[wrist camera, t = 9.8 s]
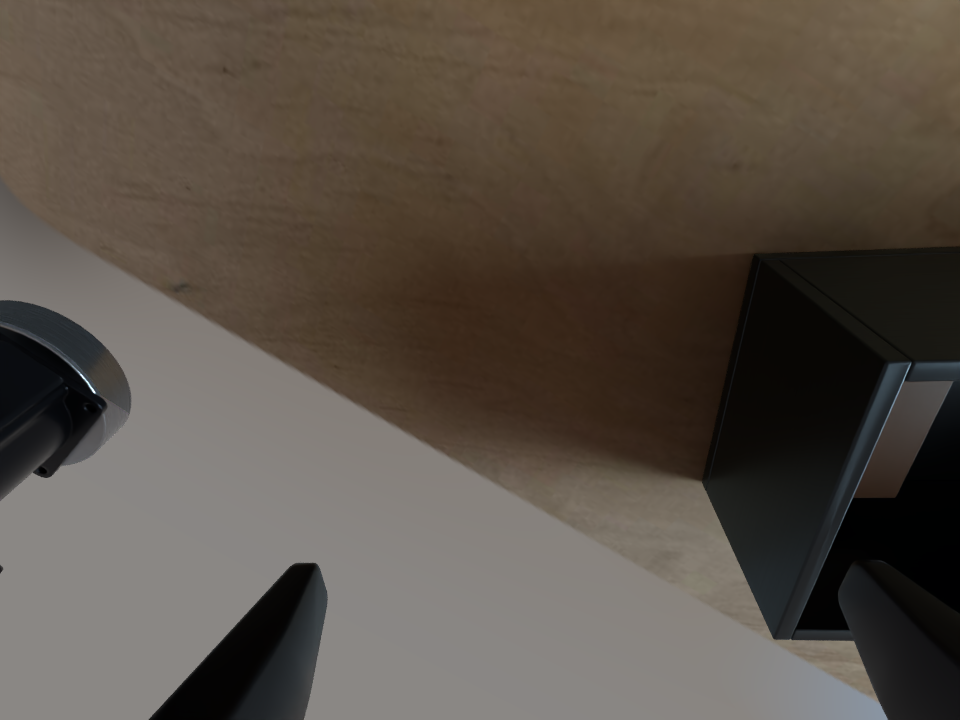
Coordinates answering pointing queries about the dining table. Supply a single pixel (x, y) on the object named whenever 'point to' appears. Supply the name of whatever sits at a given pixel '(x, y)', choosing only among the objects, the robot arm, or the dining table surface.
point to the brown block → (901, 438)
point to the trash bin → (837, 429)
